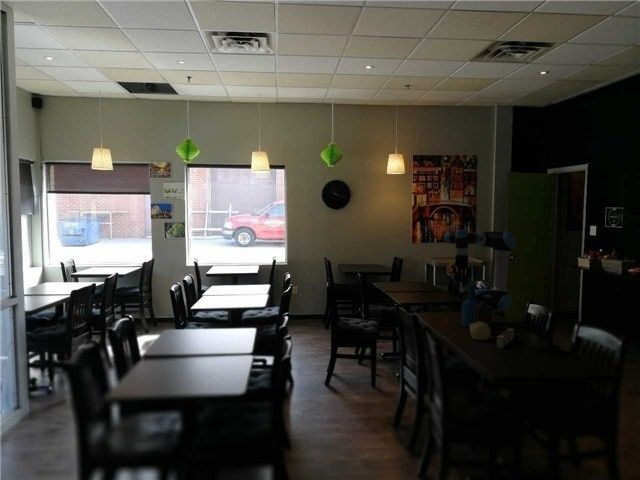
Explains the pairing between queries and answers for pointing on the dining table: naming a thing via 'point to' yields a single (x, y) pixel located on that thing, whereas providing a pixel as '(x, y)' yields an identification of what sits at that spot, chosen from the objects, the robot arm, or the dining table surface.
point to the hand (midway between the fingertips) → (461, 292)
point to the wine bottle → (469, 307)
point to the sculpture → (480, 330)
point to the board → (505, 338)
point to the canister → (483, 313)
